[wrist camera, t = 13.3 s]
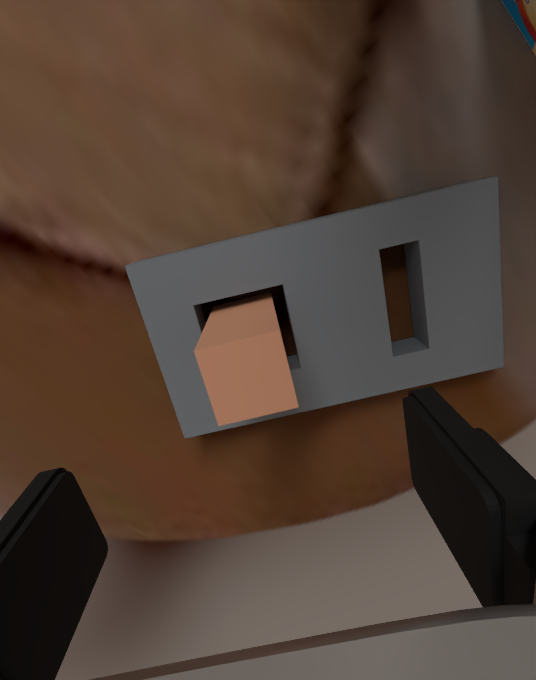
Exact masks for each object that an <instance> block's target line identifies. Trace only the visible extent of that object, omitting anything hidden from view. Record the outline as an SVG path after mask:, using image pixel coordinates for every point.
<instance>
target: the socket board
mask: <svg viewBox="0 0 536 680" xmlns="http://www.w3.org/2000/svg"><path fill="white" fill-rule="evenodd" d="M400 244H404V253H405V262H406V271H407V280H408V289H409V298H410V307H411V316H412V325H413V334H414V337H411V338H407V339H403V340H398V341H394V342H391V336H390V329H389V321H388V314H387V306H386V299H385V291H384V284H383V276H382V269H381V261H380V254H379V249H383V248H388V247H392V246H396V245H400ZM125 268H126V271H127V274H128V277H129V280H130V283H131V286H132V288H133V291H134V294H135V297H136V300H137V303H138V306H139V308H140V311H141V314H142V317H143V320H144V323H145V326H146V329H147V331H148V334H149V337H150V340H151V343H152V346H153V349H154V351H155V354H156V357H157V360H158V363H159V366H160V369H161V372H162V374H163V377H164V380H165V383H166V386H167V389H168V392H169V394H170V397H171V400H172V403H173V406H174V409H175V412H176V415H177V417H178V420H179V423H180V426H181V429H182V432H183V435H184V437H185V438H189V437H194V436H198V435H203V434H207V433H212V432H216V431H220V430H225V429H229V428H234V427H238V426H243V425H247V424H252V423H256V422H261V421H265V420H269V419H274V418H278V417H283V416H287V415H292V414H296V413H301V412H305V411H310V410H314V409H318V408H323V407H327V406H332V405H336V404H341V403H345V402H350V401H354V400H359V399H363V398H367V397H372V396H376V395H381V394H385V393H390V392H394V391H399V390H403V389H408V388H412V387H416V386H421V385H425V384H430V383H434V382H439V381H443V380H448V379H452V378H457V377H461V376H465V375H470V374H474V373H479V372H483V371H488V370H492V369H497V368H501V367H504V343H503V311H502V280H501V248H500V216H499V184H498V176H494V177H488V178H482V179H476V180H471V181H467V182H463V183H459V184H454V185H450V186H446V187H442V188H438V189H434V190H430V191H426V192H421V193H417V194H413V195H409V196H405V197H401V198H397V199H392V200H388V201H384V202H380V203H376V204H372V205H368V206H363V207H359V208H355V209H351V210H347V211H343V212H339V213H335V214H330V215H326V216H322V217H318V218H314V219H310V220H306V221H301V222H297V223H293V224H289V225H285V226H281V227H277V228H272V229H268V230H264V231H260V232H256V233H252V234H248V235H243V236H239V237H235V238H231V239H227V240H223V241H219V242H215V243H210V244H206V245H202V246H198V247H194V248H190V249H186V250H181V251H177V252H173V253H169V254H165V255H161V256H157V257H152V258H148V259H144V260H140V261H136V262H134V263H131V264H128V265H126V266H125ZM278 285H282V290H283V294H284V299H285V303H286V308H287V312H288V317H289V321H290V326H291V330H292V335H293V340H294V344H295V349H296V353H297V354H296V355H292V356H288V357H287V360H288V365H289V369H290V373H291V377H292V381H293V385H294V389H295V393H296V398H297V402H298V406H299V407H298V408H294V409H290V410H285V411H281V412H277V413H273V414H269V415H264V416H260V417H256V418H252V419H247V420H243V421H239V422H235V423H231V424H226V425H222V426H218V423H217V420H216V417H215V414H214V411H213V408H212V405H211V402H210V399H209V396H208V393H207V390H206V387H205V384H204V381H203V378H202V375H201V371H200V368H199V365H198V362H197V359H196V356H195V353H194V350H195V347H196V345H197V343H198V341H199V338H200V336H201V334H202V332H203V329H204V327H205V325H206V320H205V317H204V313H203V310H202V306H201V304H202V303H206V302H210V301H214V300H219V299H223V298H227V297H231V296H235V295H240V294H244V293H248V292H252V291H257V290H261V289H265V288H269V287H274V286H278Z"/></svg>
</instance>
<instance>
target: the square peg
mask: <svg viewBox="0 0 536 680" xmlns="http://www.w3.org/2000/svg"><path fill="white" fill-rule="evenodd" d="M194 353H195V356H196V359H197V362H198V365H199V368H200V371H201V375H202V378H203V381H204V384H205V387H206V390H207V393H208V396H209V399H210V402H211V405H212V408H213V411H214V414H215V417H216V420H217V423H218V426H222V425H226V424H231V423H235V422H239V421H243V420H247V419H252V418H256V417H260V416H264V415H269V414H273V413H277V412H281V411H285V410H290V409H294V408H298V407H299V406H298V402H297V398H296V393H295V389H294V385H293V381H292V377H291V373H290V369H289V365H288V360H287V356H286V352H285V348H284V344H283V340H282V336H281V332H280V328H279V324H278V320H277V315H276V311H275V307H274V303H273V299H272V295H271V292H269V293H265V294H261V295H257V296H253V297H249V298H245V299H241V300H237V301H233V302H229V303H225V304H221V305H217V306H213V309H212V311H211V313H210V316H209V318H208V320H207V322H206V325H205V327H204V329H203V332H202V334H201V336H200V338H199V341H198V343H197V345H196V347H195V350H194Z"/></svg>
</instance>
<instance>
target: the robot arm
mask: <svg viewBox="0 0 536 680" xmlns="http://www.w3.org/2000/svg"><path fill="white" fill-rule="evenodd" d="M403 410H404V418H405V426H406V434H407V443H408V451H409V459H410V467H411V476H412V481H413V484H414V487H415V489H416V491H417V493H418V495H419V497H420V498H421V500H422V502H423V504H424V505H425V507H426V509H427V511H428V512H429V514H430V516H431V518H432V519H433V521H434V523H435V524H436V526H437V528H438V530H439V531H440V533H441V535H442V537H443V538H444V540H445V542H446V543H447V545H448V547H449V549H450V551H451V552H452V554H453V556H454V557H455V559H456V561H457V563H458V565H459V566H460V568H461V570H462V571H463V573H464V575H465V577H466V578H467V580H468V582H469V584H470V585H471V587H472V588H473V591H474V592H475V594H476V596H477V598H478V599H479V601H480V603H481V605H482V606H483V607H482V608H475V609H465V610H458V611H451V612H445V613H439V614H434V615H428V616H422V617H416V618H411V619H404V620H398V621H392V622H386V623H381V624H375V625H369V626H364V627H359V628H354V629H348V630H343V631H338V632H332V633H327V634H322V635H317V636H311V637H306V638H301V639H295V640H290V641H285V642H279V643H274V644H269V645H263V646H258V647H253V648H248V649H243V650H237V651H233V652H227V653H222V654H217V655H212V656H207V657H202V658H196V659H191V660H186V661H181V662H176V663H171V664H166V665H161V666H155V667H151V668H145V669H140V670H135V671H130V672H125V673H120V674H115V675H110V676H105V677H100V678H95V679H90V680H536V480H535V479H534V478H533V477H532V476H531V475H530V474H529V473H528V472H527V471H526V470H525V469H524V468H523V467H522V466H521V465H520V464H519V463H518V462H517V461H516V460H515V459H514V458H513V457H512V456H511V455H510V454H508V453H507V452H506V451H505V450H504V449H503V448H502V447H501V446H500V445H499V444H498V443H497V442H496V441H495V440H494V439H493V438H492V437H491V436H490V435H489V434H488V433H487V432H485V431H484V430H483V429H481V428H475V429H473V428H472V427H471V426H470V425H469V424H468V423H467V422H466V421H465V420H464V419H463V418H462V417H461V416H460V415H459V414H458V413H457V412H456V410H455V409H454V408H453V407H452V406H451V405H450V404H449V403H448V402H447V401H446V400H445V399H444V398H443V397H442V396H441V395H440V394H439V393H438V392H437V391H436V390H435V389H434V388H432V387H425V388H421V389H416V390H412V391H409V394H408V397H405V398H403ZM107 551H108V545H107V542H106V539H105V537H104V535H103V533H102V531H101V529H100V527H99V525H98V523H97V521H96V519H95V517H94V515H93V513H92V511H91V509H90V507H89V505H88V503H87V501H86V499H85V497H84V495H83V493H82V491H81V489H80V487H79V485H78V483H77V481H76V479H75V477H74V475H73V474H72V473H71V472H67V470H65V469H64V468H57V469H53V470H48V471H43V472H40V473H39V474H38V475H37V476H36V477H35V478H34V479H33V480H32V482H31V483H30V484H29V485H28V487H27V488H26V489H25V490H24V492H23V493H22V494H21V495H20V497H19V498H18V499H17V500H16V501H15V503H14V504H13V505H12V506H11V508H10V509H9V510H8V511H7V513H6V514H5V515H4V516H3V518H2V519H1V520H0V680H55V678H56V675H57V673H58V670H59V668H60V666H61V663H62V661H63V659H64V656H65V654H66V652H67V649H68V647H69V644H70V642H71V640H72V637H73V635H74V632H75V630H76V628H77V625H78V623H79V621H80V618H81V616H82V613H83V611H84V609H85V606H86V604H87V602H88V599H89V597H90V594H91V592H92V589H93V587H94V585H95V583H96V580H97V578H98V575H99V573H100V570H101V568H102V566H103V564H104V561H105V559H106V556H107Z"/></svg>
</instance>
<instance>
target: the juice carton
mask: <svg viewBox="0 0 536 680" xmlns="http://www.w3.org/2000/svg"><path fill="white" fill-rule="evenodd" d="M501 2H502V3H503V5H504V6H505V8H506V10H507V11H508V13H509V14H510V16H511V18H512V19H513V21H514V22H515V24H516V26H517V27H518V29H519V30H520V32H521V34H522V35H523V37H524V38H525V40H526V42H527V43H528V45H529V46H530V48H531V50H532V51H533V53H534V54H535V56H536V0H501Z"/></svg>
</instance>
